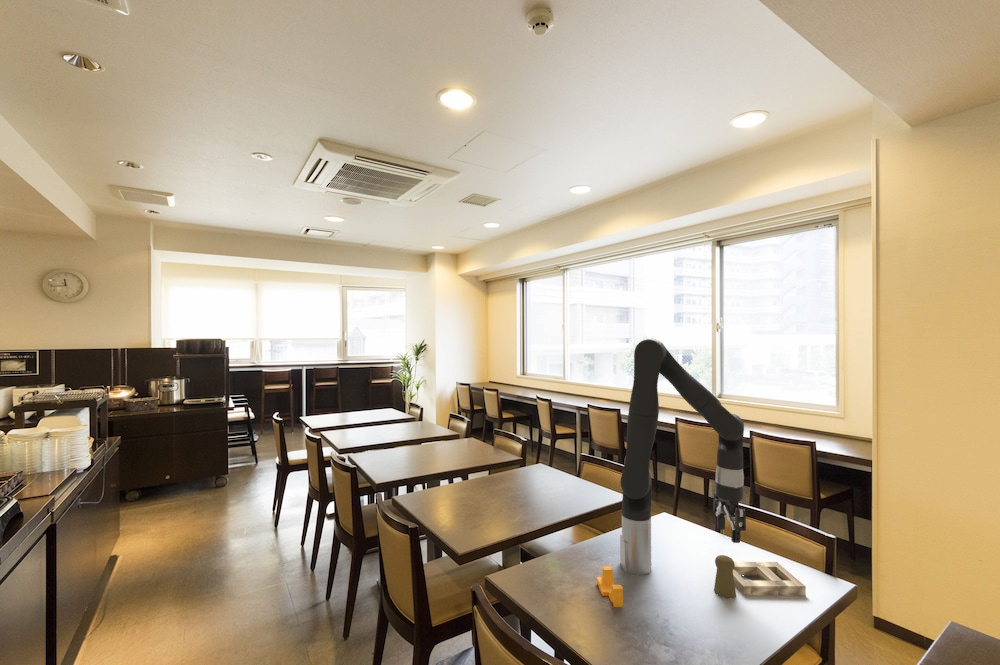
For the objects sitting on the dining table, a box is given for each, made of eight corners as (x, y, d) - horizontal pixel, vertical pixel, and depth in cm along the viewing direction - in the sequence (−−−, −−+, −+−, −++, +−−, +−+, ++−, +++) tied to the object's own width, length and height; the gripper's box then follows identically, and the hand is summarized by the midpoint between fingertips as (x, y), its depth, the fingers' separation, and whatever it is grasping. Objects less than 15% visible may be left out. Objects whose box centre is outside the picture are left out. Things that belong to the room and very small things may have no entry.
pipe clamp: (596, 587, 137) (596, 566, 137) (610, 587, 138) (610, 566, 138) (607, 612, 125) (607, 589, 125) (623, 611, 126) (623, 588, 126)
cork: (718, 586, 137) (717, 550, 137) (739, 594, 133) (739, 557, 133) (710, 594, 133) (710, 557, 133) (732, 603, 129) (732, 564, 129)
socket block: (743, 596, 132) (743, 586, 132) (720, 571, 146) (720, 561, 146) (805, 596, 132) (805, 586, 132) (776, 571, 146) (776, 561, 146)
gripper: (705, 473, 142) (704, 525, 142) (729, 490, 127) (728, 547, 127) (729, 474, 142) (728, 525, 142) (755, 490, 127) (754, 547, 128)
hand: (728, 535), depth 135 cm, fingers open, 8 cm apart
